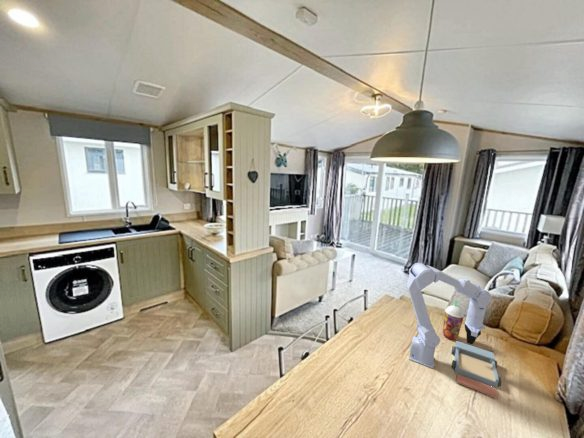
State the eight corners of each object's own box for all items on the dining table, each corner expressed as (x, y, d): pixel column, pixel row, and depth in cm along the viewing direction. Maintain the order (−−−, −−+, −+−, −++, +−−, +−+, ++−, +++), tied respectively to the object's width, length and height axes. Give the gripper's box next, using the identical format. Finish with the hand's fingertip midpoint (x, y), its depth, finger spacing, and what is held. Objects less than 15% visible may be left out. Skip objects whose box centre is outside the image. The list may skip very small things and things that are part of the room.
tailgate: (456, 375, 107) (456, 382, 102) (456, 373, 106) (457, 380, 102) (495, 390, 100) (498, 398, 95) (496, 388, 100) (498, 396, 95)
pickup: (451, 371, 108) (453, 361, 108) (451, 349, 123) (453, 339, 122) (500, 390, 100) (503, 378, 99) (494, 363, 115) (496, 353, 114)
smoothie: (454, 332, 136) (460, 298, 132) (462, 343, 128) (470, 306, 124) (437, 331, 137) (443, 296, 133) (445, 341, 129) (452, 304, 125)
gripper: (489, 325, 101) (482, 356, 103) (485, 310, 113) (479, 337, 115) (467, 319, 104) (461, 349, 107) (466, 305, 116) (460, 332, 119)
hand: (469, 343), depth 111 cm, fingers closed
